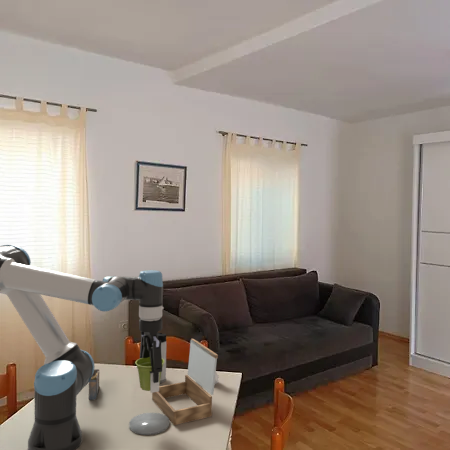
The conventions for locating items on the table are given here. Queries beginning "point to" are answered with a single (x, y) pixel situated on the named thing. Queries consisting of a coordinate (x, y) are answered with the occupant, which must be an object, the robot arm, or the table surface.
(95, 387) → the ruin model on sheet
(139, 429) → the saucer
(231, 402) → the table surface
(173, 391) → the frame
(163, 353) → the travel mug
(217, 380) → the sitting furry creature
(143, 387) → the plant pot
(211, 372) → the lid
